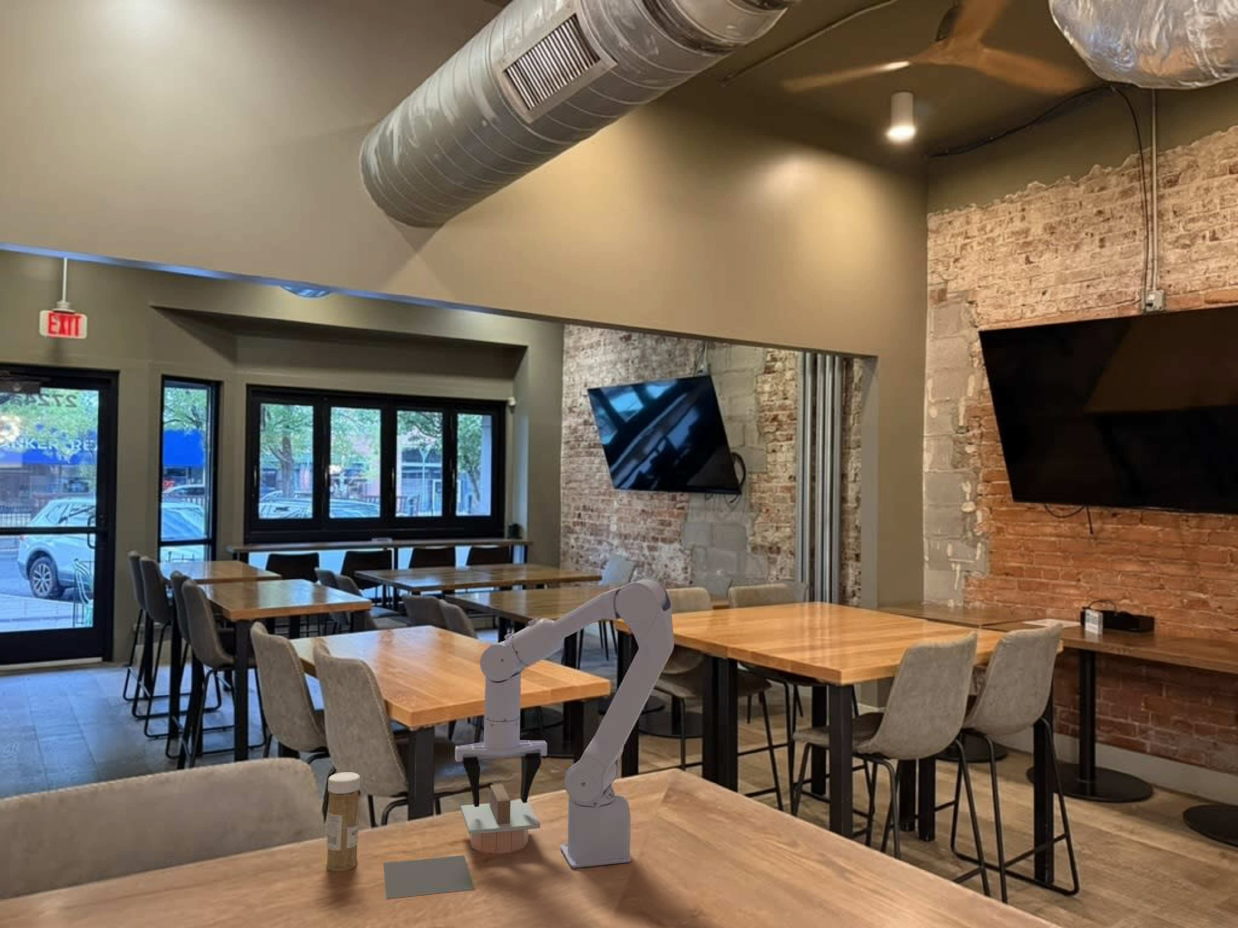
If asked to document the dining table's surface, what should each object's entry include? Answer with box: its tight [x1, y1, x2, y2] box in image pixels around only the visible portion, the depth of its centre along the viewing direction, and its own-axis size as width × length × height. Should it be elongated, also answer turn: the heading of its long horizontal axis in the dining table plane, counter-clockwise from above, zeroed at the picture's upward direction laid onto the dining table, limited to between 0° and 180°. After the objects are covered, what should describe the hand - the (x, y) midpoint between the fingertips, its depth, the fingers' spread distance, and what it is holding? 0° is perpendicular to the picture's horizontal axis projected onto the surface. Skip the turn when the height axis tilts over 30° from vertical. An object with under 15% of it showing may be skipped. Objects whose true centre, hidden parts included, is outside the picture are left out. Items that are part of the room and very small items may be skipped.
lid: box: [460, 783, 541, 836], centre depth 142 cm, size 11×11×4 cm
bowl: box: [469, 829, 529, 855], centre depth 141 cm, size 9×9×4 cm
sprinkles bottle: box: [325, 771, 361, 872], centre depth 132 cm, size 5×5×14 cm
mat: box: [383, 854, 475, 900], centre depth 128 cm, size 12×12×1 cm
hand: (500, 802), depth 141 cm, fingers open, 7 cm apart
